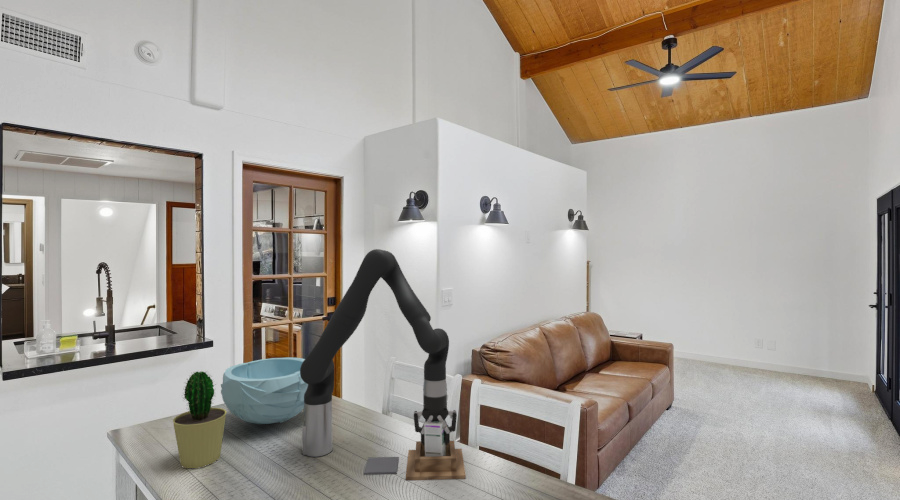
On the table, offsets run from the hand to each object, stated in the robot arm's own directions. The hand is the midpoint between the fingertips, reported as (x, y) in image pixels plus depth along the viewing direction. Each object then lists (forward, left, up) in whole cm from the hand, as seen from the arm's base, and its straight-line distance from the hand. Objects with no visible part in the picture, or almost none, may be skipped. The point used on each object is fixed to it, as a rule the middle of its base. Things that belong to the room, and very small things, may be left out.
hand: (435, 444), depth 145 cm
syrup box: (0, 0, -7) cm, 7 cm away
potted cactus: (-77, +7, -7) cm, 78 cm away
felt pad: (-17, 0, -7) cm, 18 cm away
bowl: (-65, +38, -7) cm, 76 cm away
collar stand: (0, 0, -7) cm, 7 cm away
